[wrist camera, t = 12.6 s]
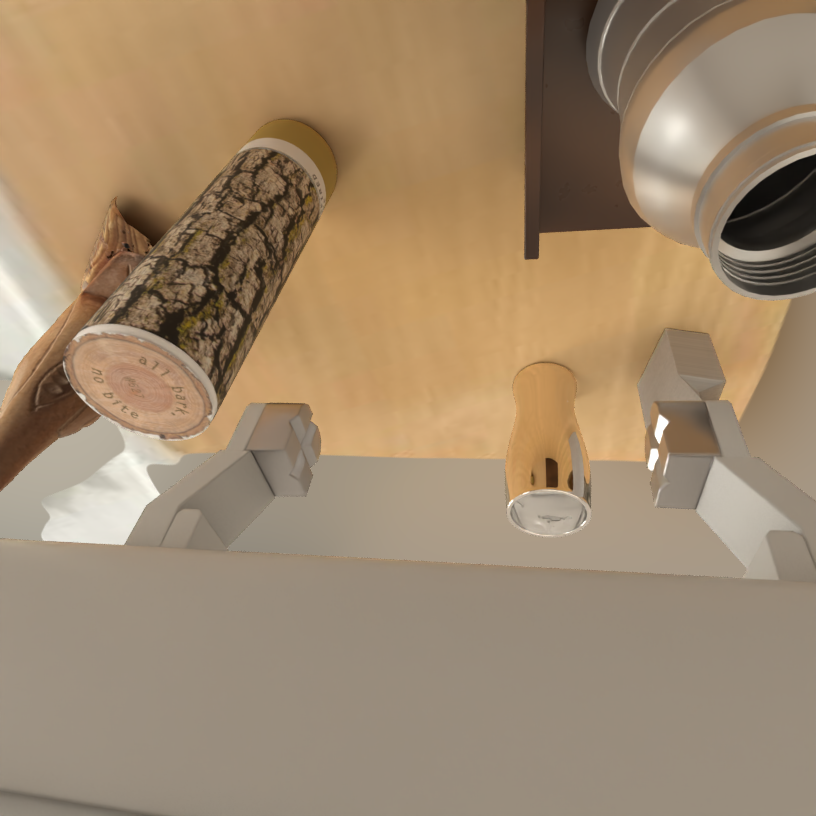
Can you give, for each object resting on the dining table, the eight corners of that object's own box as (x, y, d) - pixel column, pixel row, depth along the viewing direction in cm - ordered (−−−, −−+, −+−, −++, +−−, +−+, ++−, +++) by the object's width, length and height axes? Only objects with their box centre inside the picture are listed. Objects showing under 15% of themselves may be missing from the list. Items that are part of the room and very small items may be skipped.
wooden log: (332, 115, 40) (183, 334, 23) (345, 206, 45) (231, 445, 27) (241, 116, 41) (32, 327, 24) (263, 205, 46) (104, 436, 28)
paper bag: (637, 384, 53) (653, 467, 46) (665, 328, 48) (688, 411, 41) (676, 390, 53) (699, 474, 46) (708, 334, 48) (739, 418, 41)
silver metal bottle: (557, 72, 28) (587, 306, 14) (632, -104, 23) (787, -6, 9) (674, 116, 29) (811, 380, 15) (771, -46, 24) (1106, 124, 10)
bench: (527, -247, 27) (528, -281, 19) (785, -304, 25) (916, -371, 16) (524, 172, 41) (524, 260, 32) (689, 159, 39) (733, 250, 30)
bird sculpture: (238, 268, 50) (13, 612, 28) (194, 344, 58) (-11, 662, 36) (116, 190, 47) (-255, 516, 24) (85, 282, 54) (-220, 595, 32)
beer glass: (548, 420, 58) (552, 548, 48) (493, 389, 56) (486, 516, 46) (597, 381, 54) (614, 513, 43) (539, 346, 52) (542, 476, 41)
